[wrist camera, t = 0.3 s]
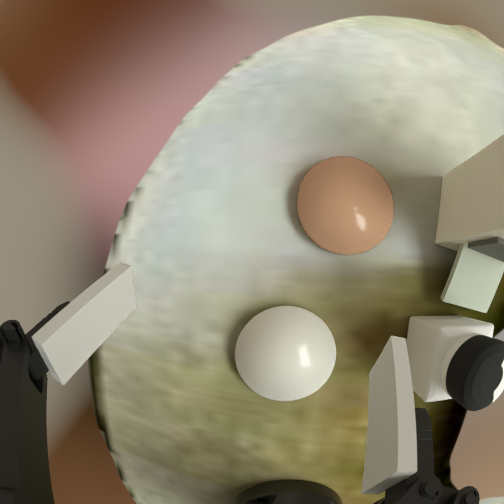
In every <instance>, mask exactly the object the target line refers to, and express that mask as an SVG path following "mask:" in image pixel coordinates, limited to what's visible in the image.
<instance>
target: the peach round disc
mask: <svg viewBox="0 0 504 504" xmlns="http://www.w3.org/2000/svg"><path fill="white" fill-rule="evenodd" d="M297 211H298V216H299V220H300V222H301V225H302V227H303V229H304V231H305V232H306V234H307V235H308V236H309V237H310V239H311V240H312V241H313V242H315V243H316V244H317V245H318V246H320V247H321V248H323V249H325V250H327V251H329V252H332V253H335V254H340V255H354V254H358V253H362V252H365V251H368V250H370V249H371V248H373V247H375V246H376V245H377V244H379V243H380V242H381V241H382V240H383V238H384V237H385V236H386V234H387V233H388V231H389V229H390V227H391V224H392V220H393V215H394V203H393V197H392V193H391V191H390V188H389V186H388V184H387V182H386V181H385V179H384V178H383V177H382V175H381V174H380V173H379V172H378V171H377V170H376V169H375V168H373V167H372V166H371V165H369V164H368V163H366V162H364V161H362V160H359V159H356V158H352V157H333V158H329V159H326V160H324V161H321V162H320V163H318V164H316V165H315V166H314V167H313V168H311V169H310V170H309V172H308V173H307V174H306V175H305V177H304V178H303V180H302V182H301V185H300V188H299V191H298V198H297Z"/></svg>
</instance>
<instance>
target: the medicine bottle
mask: <svg viewBox="0 0 504 504" xmlns="http://www.w3.org/2000/svg"><path fill="white" fill-rule="evenodd" d="M493 329H494V325H493V324H492V323H488V322H484V321H479V320H475V319H471V318H467V317H463V316H459V315H456V316H411V317H410V319H409V327H408V334H407V341H406V345H407V351H408V357H409V364H410V371H411V378H412V387H413V391H414V392H415V393H416V394H417V395H418V396H419V397H420V398H421V399H422V400H423V401H424V402H432V401H439V400H446V399H452V398H453V399H454V400H455V401H457V402H458V403H459V404H460V405H462V406H463V407H464V408H466V409H467V410H470V411H477V410H481V409H483V408H485V407H487V406H488V405H490V404H491V403H492V402H494V401H495V400H496V399H497V398H498V396H499V395H500V394H501V392H502V391H503V389H504V342H503V341H501V340H498V339H495V338H492V336H493Z"/></svg>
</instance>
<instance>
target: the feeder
mask: <svg viewBox="0 0 504 504" xmlns="http://www.w3.org/2000/svg"><path fill="white" fill-rule="evenodd" d="M435 244H437V245H440V246H443V247H446V248H449V249H452V250H454V251H457V255H456V258H455V261H454V264H453V267H452V269H451V272H450V275H449V277H448V280H447V282H446V285H445V287H444V290H443V292H442V295H441V297H440V299H441V300H442V301H443V302H447V303H451V304H455V305H458V306H462V307H466V308H469V309H473V310H477V311H481V312H484V313H487V311H488V308H489V306H490V304H491V302H492V299H493V297H494V295H495V292H496V290H497V287H498V285H499V282H500V280H501V277H502V274H503V271H504V135H502V136H501V137H499V138H498V139H497V140H495V141H494V142H492V143H491V144H490V145H488V146H487V147H485V148H484V149H482V150H481V151H480V152H478V153H477V154H475V155H474V156H472V157H471V158H469V159H468V160H467V161H465V162H464V163H462V164H461V165H459V166H458V167H456V168H455V169H453V170H452V171H450V172H449V173H447V174H446V175H444V176H443V177H442V186H441V198H440V208H439V216H438V224H437V231H436V238H435Z"/></svg>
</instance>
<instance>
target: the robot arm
mask: <svg viewBox="0 0 504 504" xmlns="http://www.w3.org/2000/svg"><path fill="white" fill-rule="evenodd" d="M136 307H137V302H136V296H135V289H134V282H133V274H132V266H131V265H128V264H125V263H122V262H120V263H119V264H118V265H116V266H115V267H114V268H112V269H111V270H110V271H109V272H107V273H106V274H105V275H104V276H102V277H101V278H100V279H99V280H97V281H96V282H95V283H94V284H92V285H91V286H90V287H89V288H87V289H86V290H85V291H84V292H83V293H81V294H80V295H79V296H78V297H77V298H75V299H74V300H73V301H72V302H69V301H68V302H65V303H63V304H61V305H59V306H58V307H57V308H56V309H55V310H53V311H52V313H50V314H48V315H47V317H45V318H44V319H43V320H42V321H40V322H39V323H38V324H37V325H36V326H35V327H34V328H33V329H31V330H30V331H29V332H28V333H27V334H26V335H25V334H24V332H23V329H22V328H21V325H20V323H19V322H18V321H16V320H9V321H6V322H4V323H3V324H2V325H1V326H0V504H54V499H53V493H52V487H51V480H50V472H49V462H48V450H47V429H46V400H47V374H46V373H47V372H48V371H50V373H51V375H52V376H53V378H54V379H55V380H57V381H58V382H60V383H61V384H62V385H63V386H64V384H66V383H67V381H68V380H69V379H70V378H71V377H72V376H73V375H74V373H75V372H76V371H77V370H78V369H79V368H80V367H81V366H82V365H83V364H84V362H85V361H86V360H87V359H88V358H89V357H90V356H91V355H92V354H93V353H94V352H95V351H96V349H97V348H98V347H99V346H100V345H101V344H102V343H103V342H104V341H105V340H106V339H107V338H108V337H109V335H110V334H111V333H112V332H113V331H114V330H115V329H116V328H117V327H118V326H119V325H120V324H121V323H122V322H123V321H124V320H125V319H126V318H127V317H128V316H129V315H130V313H131V312H132V311H133V310H134V309H135V308H136ZM431 430H432V429H431V419H430V417H429V415H428V413H427V411H426V409H424V408H415V406H414V396H413V387H412V378H411V371H410V364H409V357H408V351H407V345H406V339H405V338H402V337H397V336H392V335H391V336H390V338H389V340H388V342H387V344H386V346H385V347H384V349H383V351H382V353H381V354H380V356H379V358H378V359H377V361H376V363H375V365H374V366H373V368H372V369H371V371H370V373H369V411H368V431H367V445H366V456H365V466H364V475H363V483H362V490H361V494H380V493H382V492H384V491H385V490H386V493H385V497H384V498H382V499H380V500H378V501H376V502H375V503H373V504H479V499H480V498H479V493H478V491H477V489H475V488H474V487H471V486H467V487H464V488H462V489H461V490H456V489H452V488H448V487H445V486H443V485H441V482H440V480H439V479H438V478H437V477H435V475H434V461H433V442H432V432H431ZM233 504H342V501H341V498H340V497H339V496H338V494H337V493H336V492H334V491H333V490H331V489H330V488H328V487H326V486H323V485H320V484H317V483H313V482H307V481H297V480H285V481H274V482H269V483H264V484H260V485H257V486H254V487H252V488H250V489H248V490H246V491H244V492H243V493H241V494H240V495H239V496H238V497H237V498H236V499H235V501H234V503H233Z"/></svg>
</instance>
